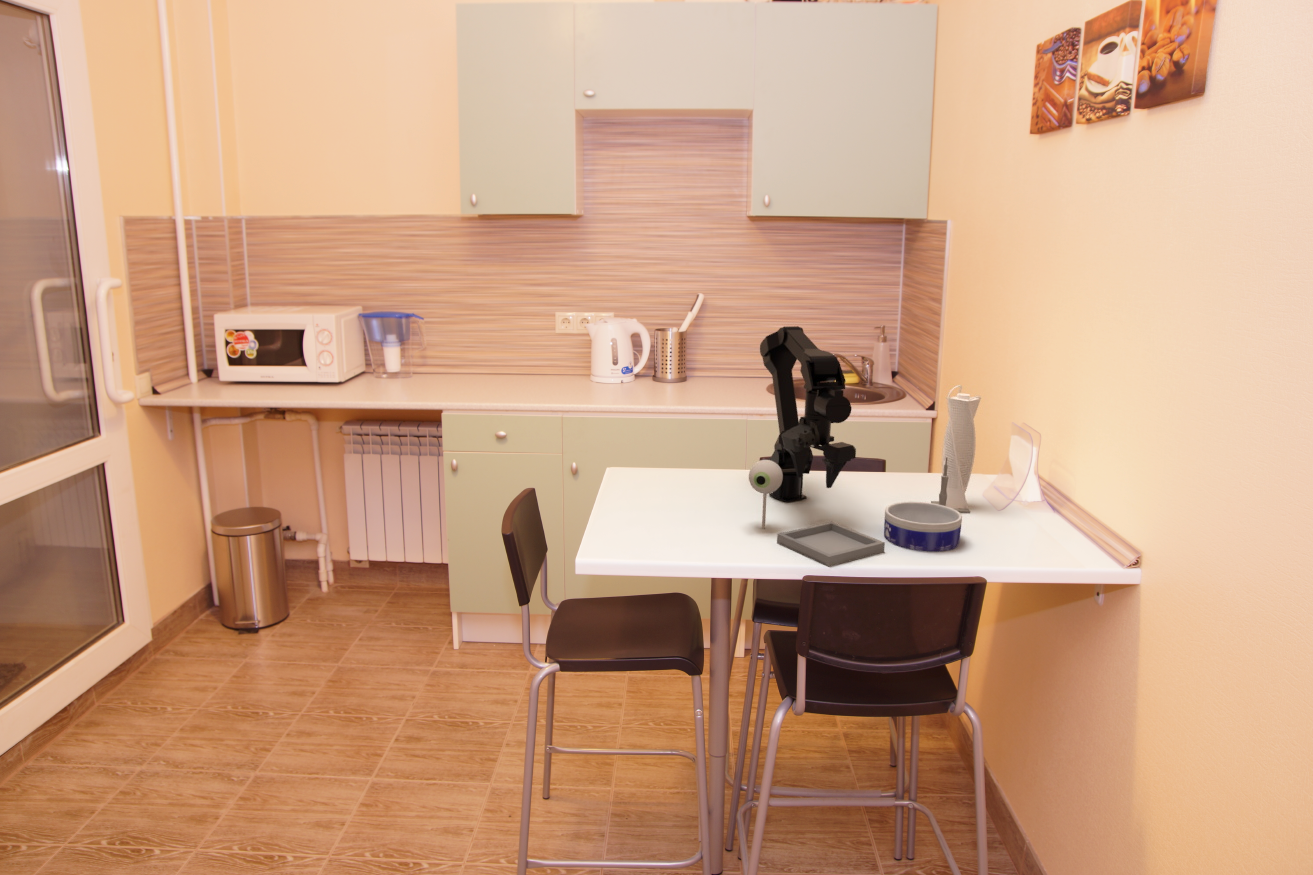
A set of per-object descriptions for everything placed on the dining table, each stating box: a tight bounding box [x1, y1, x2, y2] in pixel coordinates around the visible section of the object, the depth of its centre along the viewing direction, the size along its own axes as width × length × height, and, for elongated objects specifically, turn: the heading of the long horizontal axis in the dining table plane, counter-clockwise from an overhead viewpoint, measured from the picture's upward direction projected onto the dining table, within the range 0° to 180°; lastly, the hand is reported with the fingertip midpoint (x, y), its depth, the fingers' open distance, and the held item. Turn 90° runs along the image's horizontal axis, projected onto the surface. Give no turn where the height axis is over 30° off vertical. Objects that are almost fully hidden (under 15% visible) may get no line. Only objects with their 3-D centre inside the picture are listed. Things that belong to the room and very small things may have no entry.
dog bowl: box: [883, 501, 963, 553], centre depth 188 cm, size 15×15×6 cm
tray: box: [776, 521, 886, 567], centre depth 183 cm, size 15×15×2 cm
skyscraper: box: [930, 384, 982, 514], centre depth 207 cm, size 8×8×28 cm
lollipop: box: [748, 459, 783, 529], centre depth 192 cm, size 7×7×15 cm
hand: (814, 482), depth 200 cm, fingers open, 9 cm apart
